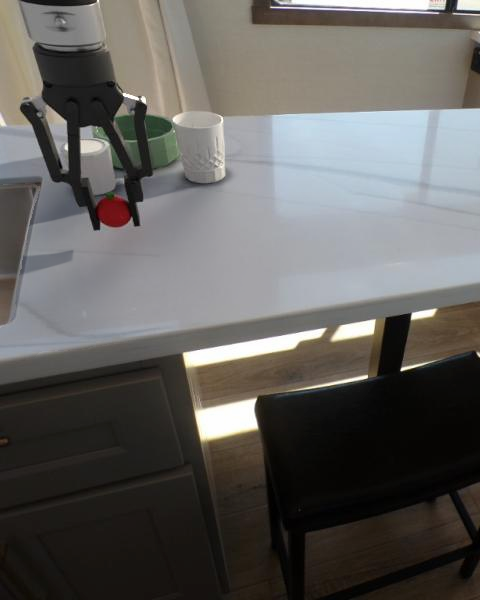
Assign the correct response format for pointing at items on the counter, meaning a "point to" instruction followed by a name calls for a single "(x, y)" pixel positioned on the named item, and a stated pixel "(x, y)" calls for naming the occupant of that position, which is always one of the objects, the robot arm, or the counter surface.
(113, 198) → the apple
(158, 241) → the counter surface
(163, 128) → the bowl
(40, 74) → the robot arm
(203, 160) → the white cup
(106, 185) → the white cylinder
